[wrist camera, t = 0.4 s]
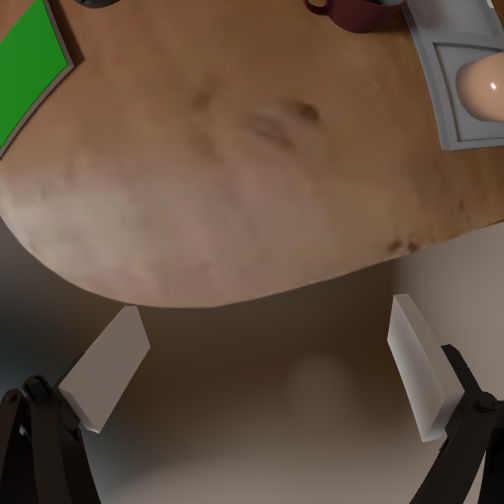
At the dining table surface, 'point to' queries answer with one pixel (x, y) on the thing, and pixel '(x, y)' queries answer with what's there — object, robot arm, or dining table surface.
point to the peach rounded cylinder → (482, 88)
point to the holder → (455, 62)
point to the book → (29, 67)
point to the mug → (357, 12)
